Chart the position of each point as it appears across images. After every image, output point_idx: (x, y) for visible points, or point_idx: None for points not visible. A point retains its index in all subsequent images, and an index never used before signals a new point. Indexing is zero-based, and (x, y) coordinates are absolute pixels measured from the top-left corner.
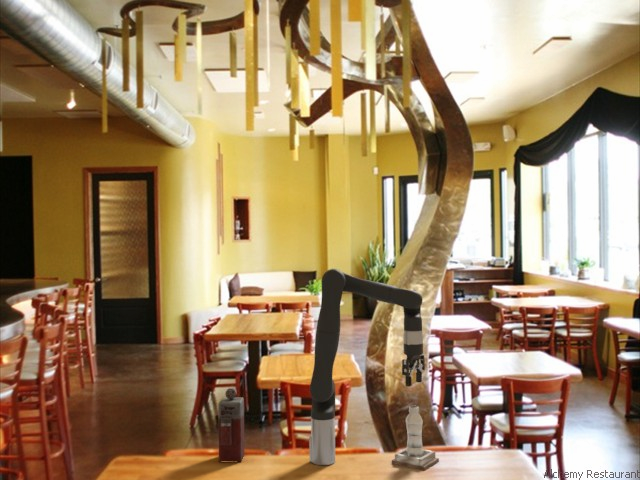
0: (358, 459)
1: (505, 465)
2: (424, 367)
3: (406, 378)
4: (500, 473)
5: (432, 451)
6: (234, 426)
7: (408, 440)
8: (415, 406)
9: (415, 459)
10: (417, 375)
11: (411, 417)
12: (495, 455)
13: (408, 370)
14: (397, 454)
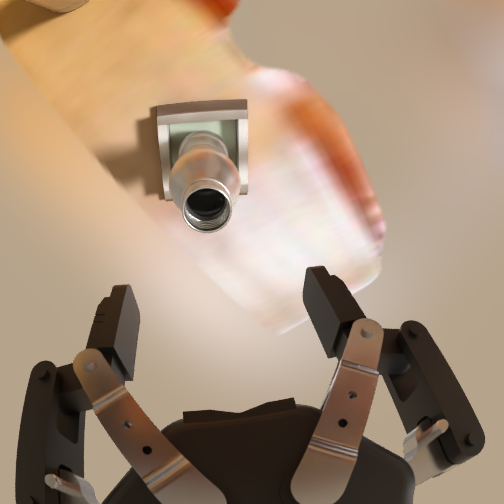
0: (134, 23)
1: (295, 296)
2: (401, 374)
3: (92, 346)
4: (249, 308)
5: (243, 186)
6: None
7: (182, 154)
8: (229, 204)
9: (163, 180)
10: (325, 314)
11: (175, 197)
12: (342, 262)
13: (72, 437)
14: (158, 124)
